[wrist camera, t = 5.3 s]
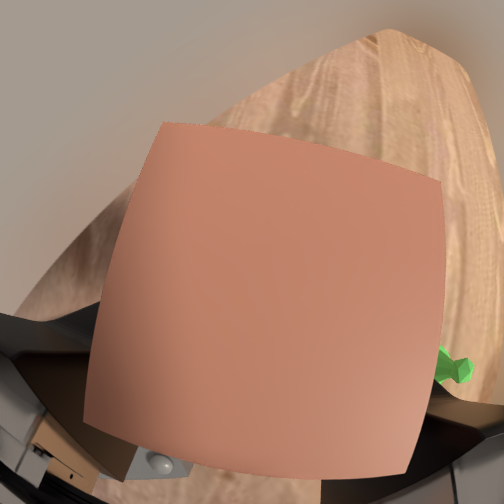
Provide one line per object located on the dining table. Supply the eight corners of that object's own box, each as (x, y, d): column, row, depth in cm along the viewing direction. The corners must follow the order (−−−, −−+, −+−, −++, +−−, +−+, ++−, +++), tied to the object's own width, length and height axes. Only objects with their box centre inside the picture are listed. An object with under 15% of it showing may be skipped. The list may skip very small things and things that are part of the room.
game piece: (407, 358, 21) (447, 364, 15) (440, 336, 22) (480, 335, 16) (419, 396, 20) (456, 408, 14) (449, 373, 21) (489, 378, 15)
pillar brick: (283, 362, 15) (405, 472, 2) (212, 349, 15) (82, 421, 2) (296, 293, 16) (441, 182, 3) (227, 280, 16) (162, 122, 3)
